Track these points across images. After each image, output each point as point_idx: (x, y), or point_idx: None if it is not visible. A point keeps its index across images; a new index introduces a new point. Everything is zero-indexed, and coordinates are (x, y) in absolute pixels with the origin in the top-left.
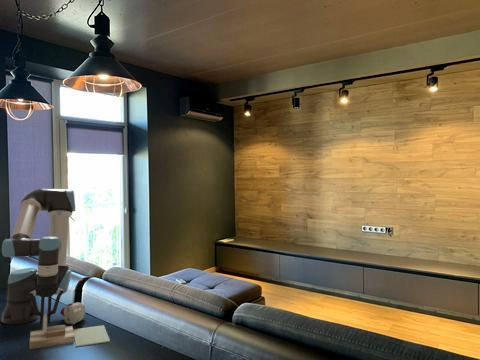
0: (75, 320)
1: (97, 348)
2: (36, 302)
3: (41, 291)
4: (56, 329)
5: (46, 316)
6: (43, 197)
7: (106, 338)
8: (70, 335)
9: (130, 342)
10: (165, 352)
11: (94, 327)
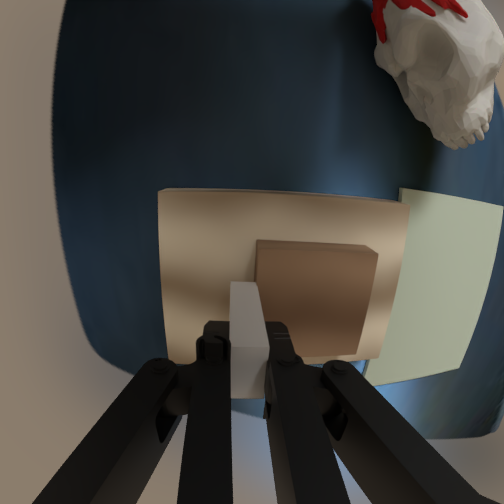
0: (436, 138)
1: (408, 403)
2: (121, 488)
3: None
4: (315, 322)
5: (255, 396)
6: None
7: (461, 350)
8: (368, 344)
9: (482, 378)
10: (483, 427)
11: (476, 214)
